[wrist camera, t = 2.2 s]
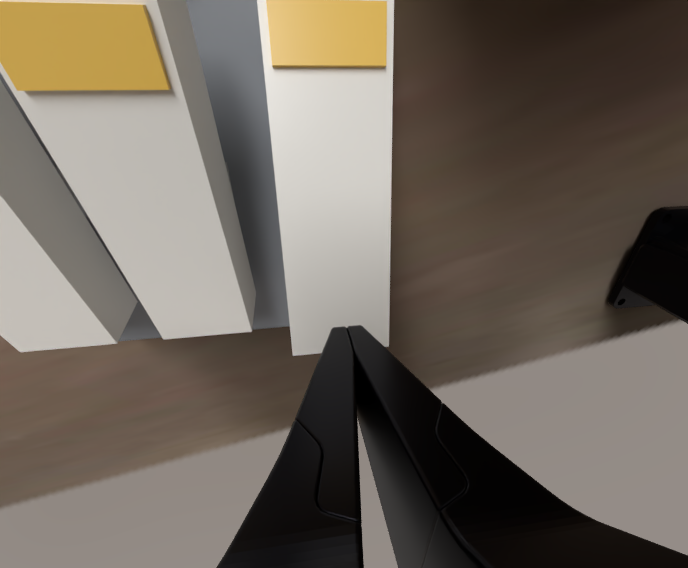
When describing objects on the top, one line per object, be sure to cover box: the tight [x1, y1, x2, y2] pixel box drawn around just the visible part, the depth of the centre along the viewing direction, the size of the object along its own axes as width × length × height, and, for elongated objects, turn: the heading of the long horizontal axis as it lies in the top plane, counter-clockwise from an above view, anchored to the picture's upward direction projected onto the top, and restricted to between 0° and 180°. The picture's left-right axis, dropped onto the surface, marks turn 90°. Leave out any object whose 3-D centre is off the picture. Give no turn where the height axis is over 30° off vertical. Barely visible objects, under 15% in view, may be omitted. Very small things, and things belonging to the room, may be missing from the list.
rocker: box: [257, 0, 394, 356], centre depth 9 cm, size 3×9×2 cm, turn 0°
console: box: [0, 0, 290, 341], centre depth 12 cm, size 13×13×4 cm
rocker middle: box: [0, 0, 256, 339], centre depth 9 cm, size 3×9×2 cm, turn 0°
